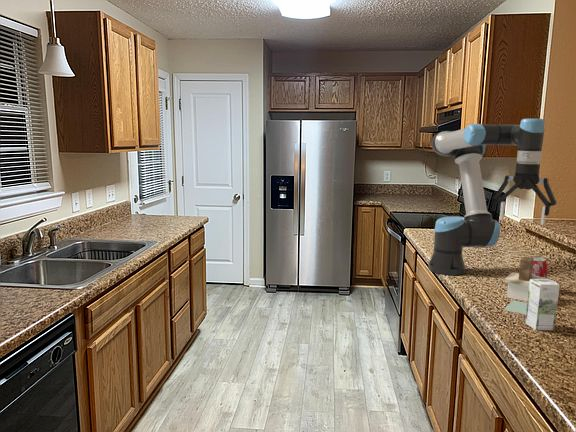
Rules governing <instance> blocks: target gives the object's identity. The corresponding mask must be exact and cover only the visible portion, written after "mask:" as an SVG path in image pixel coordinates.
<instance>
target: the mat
mask: <svg viewBox="0 0 576 432" xmlns="http://www.w3.org/2000/svg"><path fill="white" fill-rule="evenodd" d="M503 310H504V311H509V312H513V313H517V314H520V315H525V316H526V310H527V302H522V301H518V300H514V299H513V300H511V301H510V303H508V304H507V305H506V306H505V308H503Z"/></svg>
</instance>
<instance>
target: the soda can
mask: <svg viewBox="0 0 576 432" xmlns="http://www.w3.org/2000/svg"><path fill="white" fill-rule="evenodd" d="M531 258H534V260H533V271H532V276H538V277H544V278H545V279H547V277H548V276H547V275H548V263H547V259H546V258H543V257H535V256H531Z"/></svg>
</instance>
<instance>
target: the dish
mask: <svg viewBox="0 0 576 432" xmlns="http://www.w3.org/2000/svg"><path fill="white" fill-rule="evenodd" d="M528 292H529V286H524V285H519V284H513V283H508V282H507V291H506V297H507V298H511V299H513V300H514V299H515V300H520V301H524V302H527V300H528Z"/></svg>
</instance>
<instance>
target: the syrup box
mask: <svg viewBox="0 0 576 432" xmlns="http://www.w3.org/2000/svg"><path fill="white" fill-rule="evenodd" d="M560 286H561V285H560V284H559V283H558V282H556V281H554V280H552V279H549V278H546V279H530V282H529V292H528V300H527V301H526V303H527V310H526V315H525V320H524V323H525V324H526V325H527V326H529V327H531V328H532V329H533V330H535V331H555V326H556V317H557V311H558V309H557V308H558V302H559V294H560Z"/></svg>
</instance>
